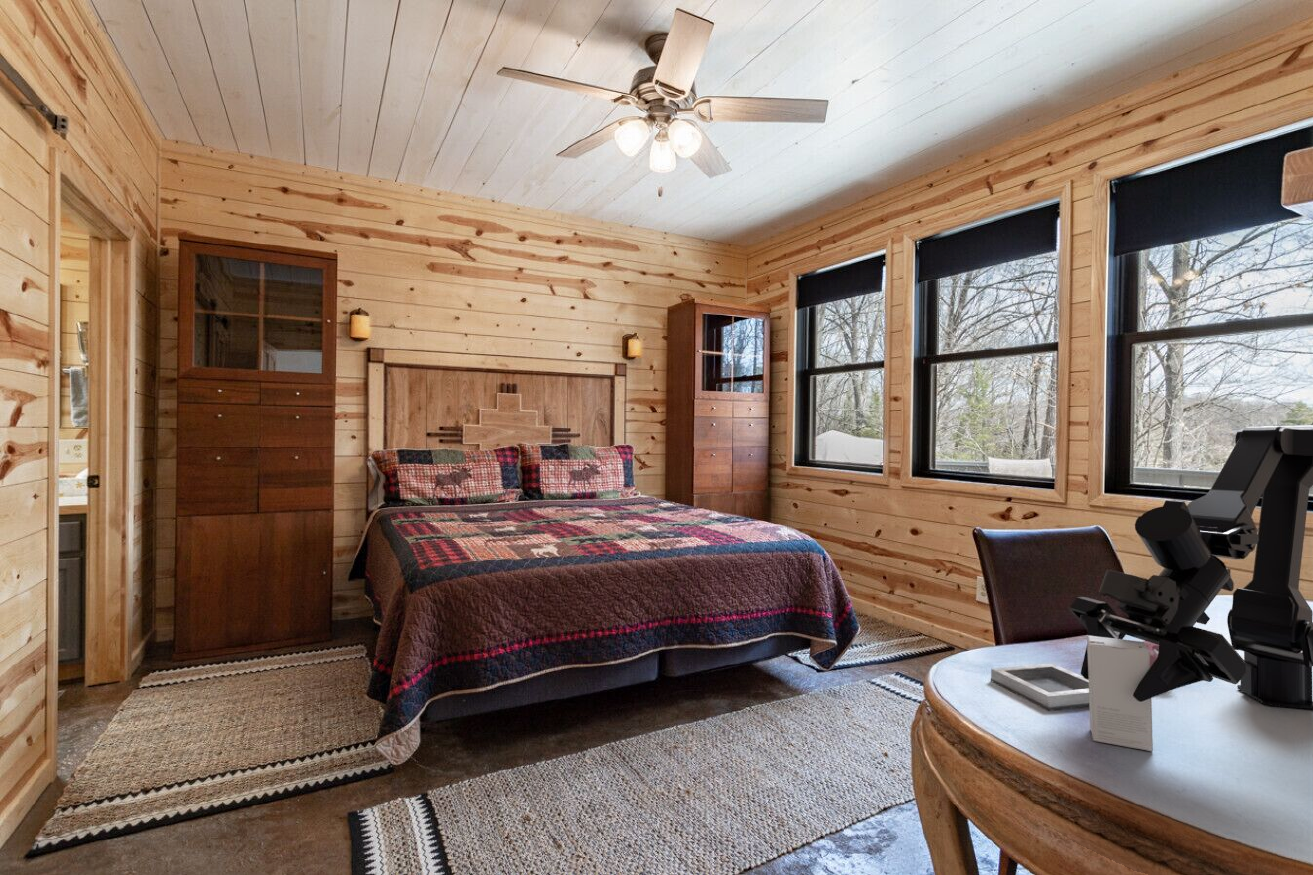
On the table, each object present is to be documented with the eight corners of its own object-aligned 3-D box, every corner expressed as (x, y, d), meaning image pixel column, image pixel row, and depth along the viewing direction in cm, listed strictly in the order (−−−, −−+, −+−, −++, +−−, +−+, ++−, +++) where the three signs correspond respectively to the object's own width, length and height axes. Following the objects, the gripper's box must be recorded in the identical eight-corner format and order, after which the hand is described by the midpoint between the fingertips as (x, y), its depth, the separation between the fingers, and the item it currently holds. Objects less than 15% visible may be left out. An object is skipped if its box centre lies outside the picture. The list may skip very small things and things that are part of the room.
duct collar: (1052, 675, 100) (1051, 663, 100) (1116, 703, 89) (1115, 689, 89) (990, 680, 97) (990, 668, 97) (1048, 710, 87) (1048, 696, 87)
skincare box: (1147, 738, 78) (1146, 640, 78) (1154, 754, 74) (1153, 650, 74) (1087, 727, 81) (1086, 633, 81) (1090, 742, 77) (1089, 642, 77)
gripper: (1079, 537, 88) (1010, 622, 86) (1224, 562, 70) (1142, 671, 67) (1127, 591, 89) (1061, 676, 87) (1281, 629, 71) (1203, 738, 69)
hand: (1108, 687), depth 78 cm, fingers closed on skincare box, 7 cm apart
